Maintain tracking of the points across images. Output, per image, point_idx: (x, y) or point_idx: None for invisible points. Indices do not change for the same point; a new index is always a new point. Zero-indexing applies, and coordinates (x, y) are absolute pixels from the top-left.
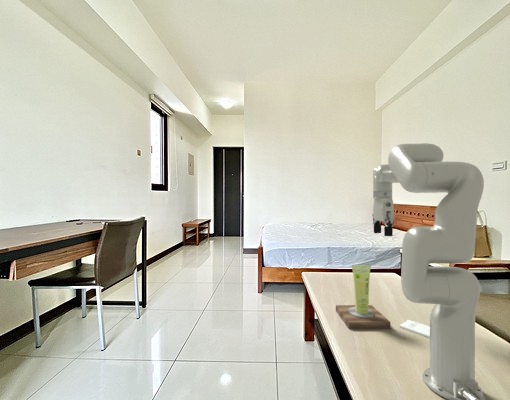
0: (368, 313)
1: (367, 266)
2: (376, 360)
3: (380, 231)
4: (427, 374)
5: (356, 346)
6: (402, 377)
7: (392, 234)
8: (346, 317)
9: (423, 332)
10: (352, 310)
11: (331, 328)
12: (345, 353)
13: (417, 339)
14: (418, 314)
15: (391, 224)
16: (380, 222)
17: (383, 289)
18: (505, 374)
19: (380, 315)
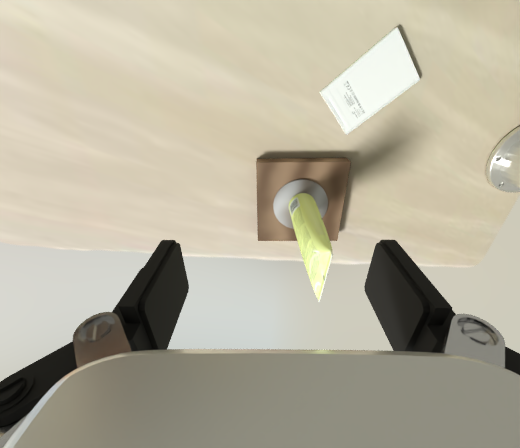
0: (310, 194)
1: (329, 260)
2: (430, 227)
3: (174, 254)
4: (500, 182)
5: None
6: (476, 211)
7: (399, 245)
8: None
9: (389, 96)
10: (291, 220)
11: None
12: None
13: (398, 123)
14: (280, 27)
15: (517, 368)
16: (128, 339)
17: (62, 28)
18: None
19: (316, 168)
